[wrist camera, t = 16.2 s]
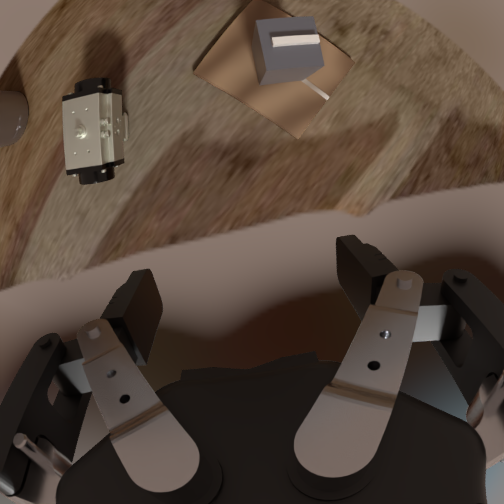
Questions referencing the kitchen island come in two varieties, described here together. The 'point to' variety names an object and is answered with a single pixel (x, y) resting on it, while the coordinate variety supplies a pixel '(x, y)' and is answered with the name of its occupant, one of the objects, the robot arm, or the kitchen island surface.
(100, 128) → the pneumatic valve
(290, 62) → the grey rectangular block
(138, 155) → the kitchen island surface
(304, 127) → the panel
